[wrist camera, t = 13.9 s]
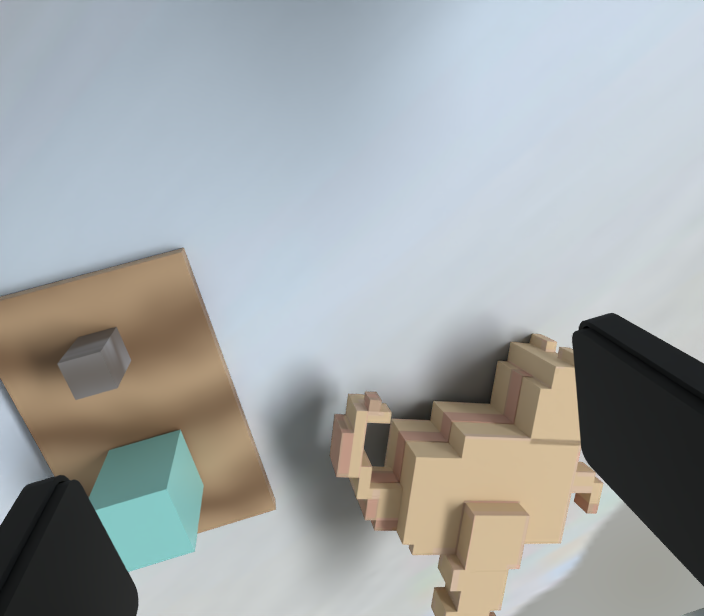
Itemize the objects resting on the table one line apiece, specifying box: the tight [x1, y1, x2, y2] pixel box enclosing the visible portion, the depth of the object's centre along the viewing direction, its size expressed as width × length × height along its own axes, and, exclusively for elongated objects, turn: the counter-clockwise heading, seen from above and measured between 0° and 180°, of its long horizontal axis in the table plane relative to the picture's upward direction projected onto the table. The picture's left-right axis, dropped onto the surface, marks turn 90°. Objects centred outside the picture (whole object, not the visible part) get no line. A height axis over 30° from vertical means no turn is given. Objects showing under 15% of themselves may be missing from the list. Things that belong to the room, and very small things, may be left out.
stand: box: [0, 248, 276, 534], centre depth 37 cm, size 22×14×5 cm, turn 13°
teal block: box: [89, 430, 204, 572], centre depth 37 cm, size 5×5×7 cm
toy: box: [330, 334, 603, 616], centre depth 40 cm, size 10×20×20 cm
